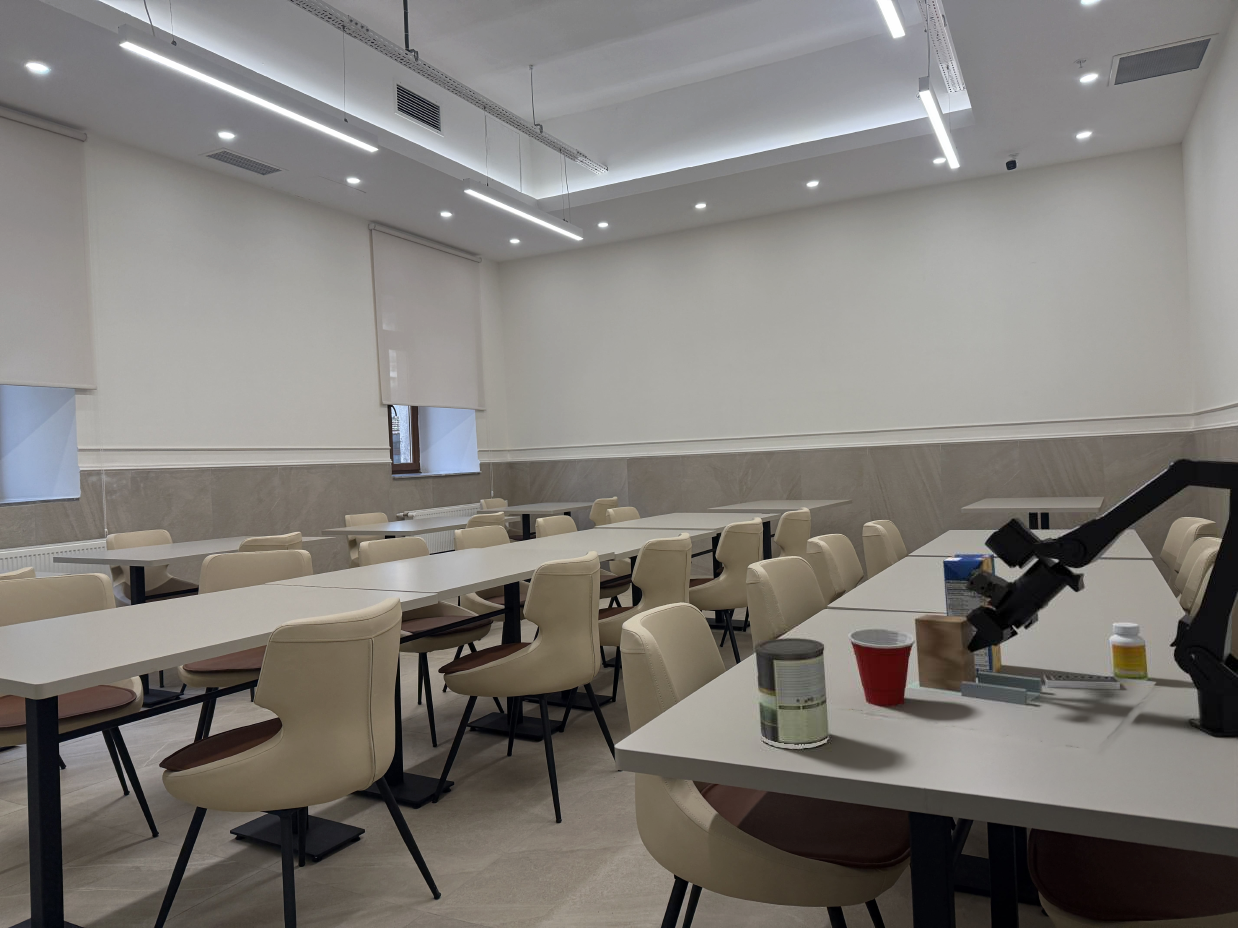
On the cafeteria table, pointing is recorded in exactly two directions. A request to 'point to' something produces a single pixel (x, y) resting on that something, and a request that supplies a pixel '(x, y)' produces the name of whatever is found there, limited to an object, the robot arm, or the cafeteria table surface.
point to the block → (944, 652)
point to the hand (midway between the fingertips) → (969, 649)
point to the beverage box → (970, 600)
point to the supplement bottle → (1128, 652)
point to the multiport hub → (1081, 682)
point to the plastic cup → (882, 663)
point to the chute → (995, 688)
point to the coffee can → (792, 690)
